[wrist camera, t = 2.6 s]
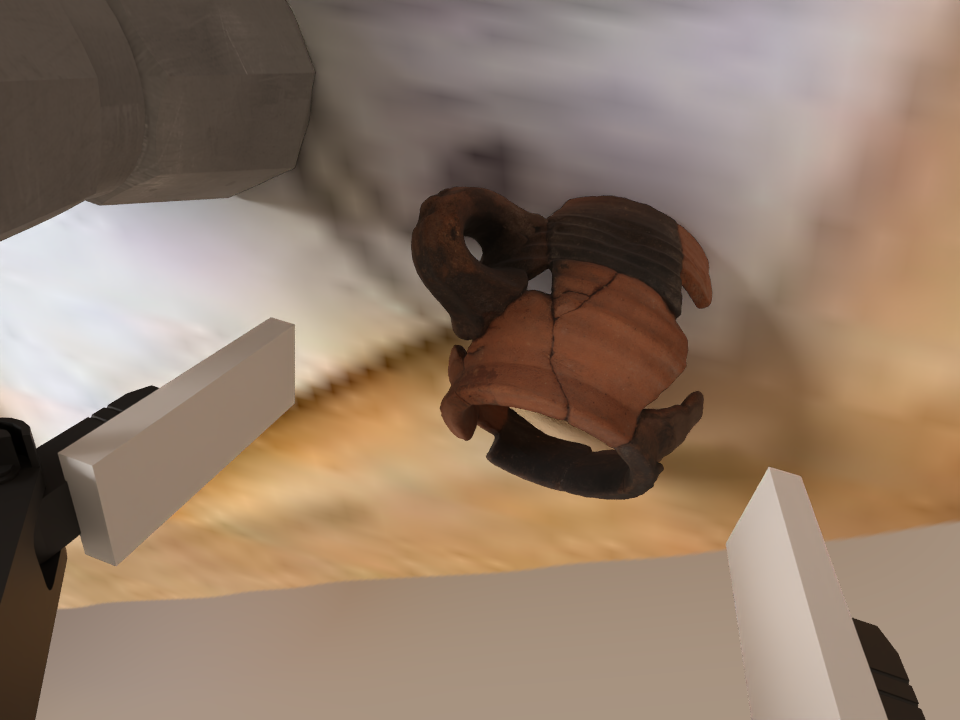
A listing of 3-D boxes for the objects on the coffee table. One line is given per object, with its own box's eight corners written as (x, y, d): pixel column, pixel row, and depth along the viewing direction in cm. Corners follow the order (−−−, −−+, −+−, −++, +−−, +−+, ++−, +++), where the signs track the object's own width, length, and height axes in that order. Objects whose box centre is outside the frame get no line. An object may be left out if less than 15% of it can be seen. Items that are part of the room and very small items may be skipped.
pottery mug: (784, 299, 20) (752, 516, 16) (593, 357, 27) (541, 513, 24) (548, 44, 15) (426, 258, 12) (399, 197, 23) (296, 356, 19)
